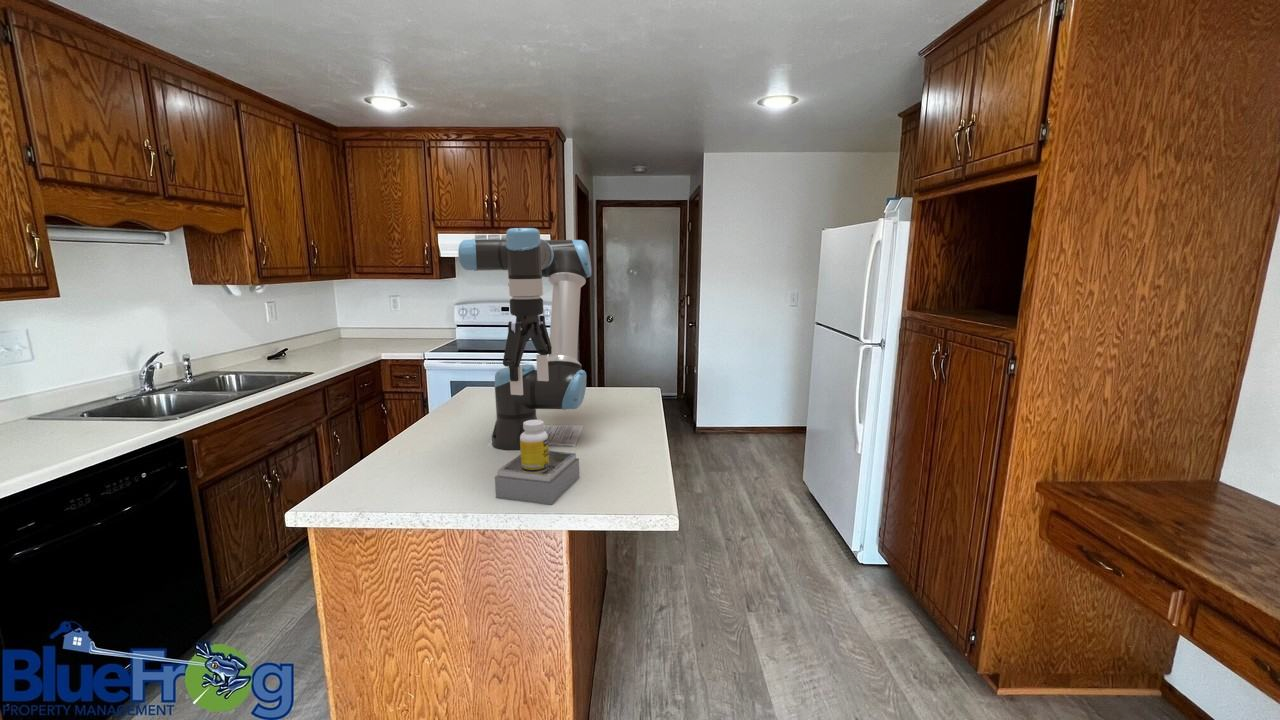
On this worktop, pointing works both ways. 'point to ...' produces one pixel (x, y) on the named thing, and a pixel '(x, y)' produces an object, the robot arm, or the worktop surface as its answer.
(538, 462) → the pill bottle
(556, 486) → the square metal tray
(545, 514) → the worktop surface
